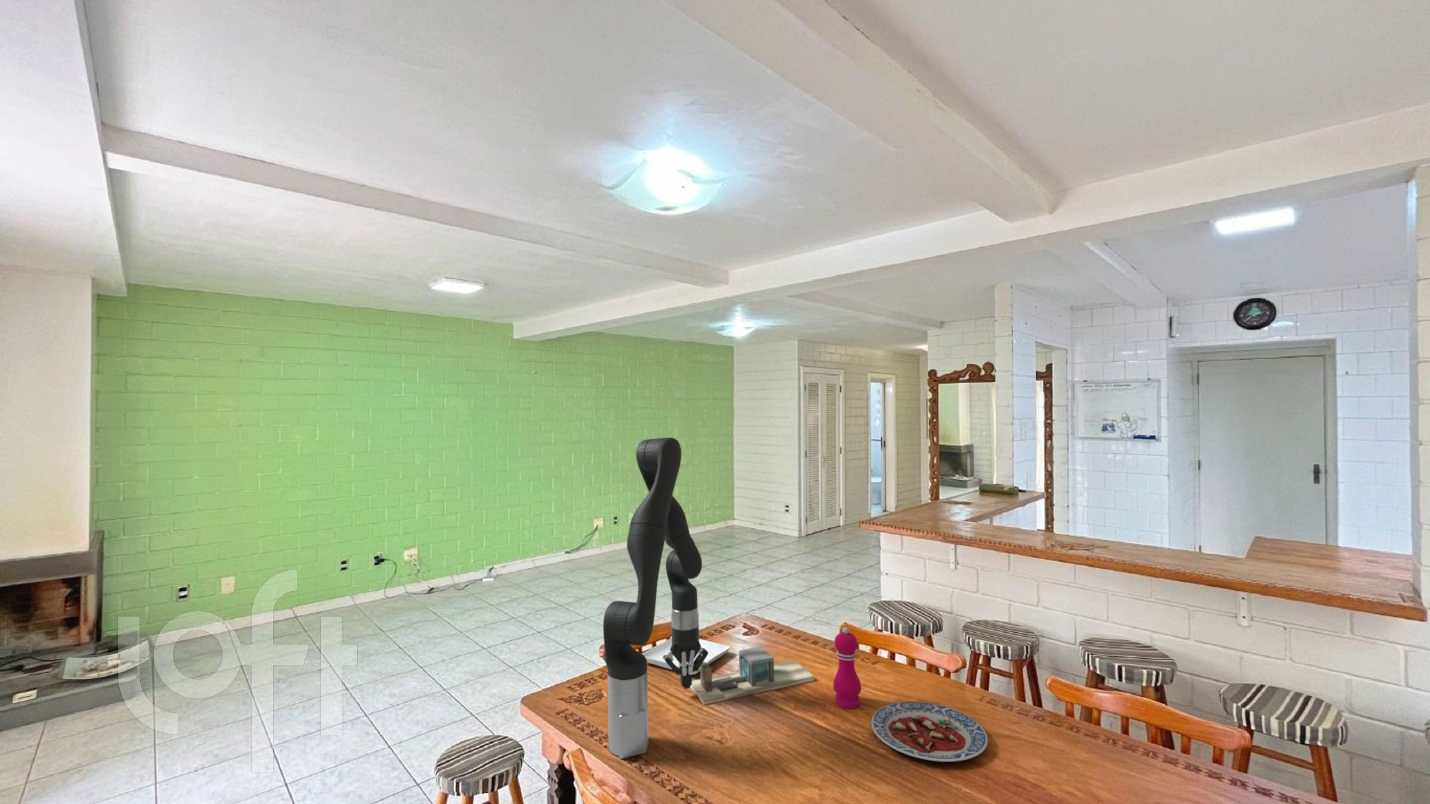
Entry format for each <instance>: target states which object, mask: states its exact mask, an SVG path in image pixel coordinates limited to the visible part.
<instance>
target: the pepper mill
mask: <svg viewBox="0 0 1430 804" xmlns="http://www.w3.org/2000/svg"><path fill="white" fill-rule="evenodd" d="M841 631H842V632H839V633H838V634H836V636H835V638H834V647H835V649H836V658H838V668H837V671H836V674H835V676H834V679H833V686H832V687H833V691H834V692H835V693H836V694H835V695H834V696H835V698H834V699H835V704H836V706H837V707H840V708H842V709H846V710H853V709H854V710H855V709H857V708H858V707H859V706H860V704H861V700H860V699H861V698H860V696H859V695H860V694H861V692H862V685H861V681H860V678H859V676H858V673H857V671H856V668H855V660H856V659H857V656H856V655H857V652H856V651H857V648H858V644H859V643H858V639H857V638H856V636H855V634H853V633H852V632H850V628H848V627H846V626H844V627H843V628H842V629H841Z"/></svg>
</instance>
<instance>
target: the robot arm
mask: <svg viewBox="0 0 1430 804" xmlns="http://www.w3.org/2000/svg"><path fill="white" fill-rule="evenodd" d="M635 457H636V463H637V467H638V469H639V472H640V474H641V477H642V478H643V482H644V484H645V485H646V486H645V487H646V488H647V491H648V494H646V496H645V498H644V499H643V500H642V501H641V503H640V504H639V506H638V507H637V508H636V510H635V511H634V513H633V515H632V517H631V520H630V523H629V528H628V535H627V541H626V549H627V553H628V555H629V559H630V561H631V564H632V566H633V568H634V571H635V575H636V578H637V587H638V588H637V598H636V601H624V600H614V601H612V602H611V603H610V604H609V605H608V606H607V607H606V610H605V612H604V616H603V621H602V622H603V623H602V624H603V625H602V628H603V629H602V630H603V646H604V647H603V648H604V661H605V666H606V669H607V714H608V716H607V720H608V721H607V722H608V723H607V725H608V750H609V752H610V753H611V754H613V755H615V756H616V757H617V756H618V757H619V759H626V758H630V757H633V756H637V755H642V754H645V753H647V750H648V747H649V705H648V703H649V702H648V701H649V699H648V697H649V695H648V692H649V691H648V690H649V688H648V662H647V659H646V657H645V656H644V655H643V653H641V652H639V651H638V650H637V649H635V648H634V647H633V646H645V645H646V644H648V642H649V640H650V638H651V635H652V632H653V628H654V624H655V615H656V603H657V593H658V584H659V583H658V582H659V574H660V568H661V562H662V558H663V557H662V556H663V551H664V547H665V544H666V546H667V547H668V546H669V547H670V548H671V549H672V550H671V551H670V552H669V553H668V555H667V557H666V561H665V573H666V577H667V580H668V584H669V587H670V591H671V617H670V618H671V620H670V625H671V638H672V646H671V648H670V652H669V653H668V654H667V655H664V656H663V659H664V660H665V661H666V663H667V664H668V665H669V666H670V667H671V668H672V669H673V670H672V671H673V672H674V673H675V674H676V675H677V676H680V685H681V686H682V688H683V689H684V690H688V689H691V688H690V686H691V685H692V681H693V674H692V673H693V672H694V671H698V670H699V668H700V666H701V665H702V663H703V661H704V660H705V658H706V657H707V655H708V651H707V650H706V649H705V648H702V647H701V645H700V643H699V639H700V625H699V624H700V620H699V619H700V617H699V614H700V613H699V610H698V608H699V607H698V590H697V587H696V586H695V585H694V584H692V583H691V582H690V580H693V579H695V578H697V577H698V576H699V575H700V574H701V572H702V567H703V561H702V556H701V554H700V551H699V549H698V547H697V546H696V543H695V541H694V539H693V537H692V536H691V533H690V530H689V525H688V521H687V517H686V514H685V512H684V509H683V507H682V506H681V505H680V503H679V501H678V500H677V499H676V498H675V497H674V495H673V494H674V490H675V486H676V482H677V479H678V474H679V471H680V467H681V460H682V447H681V445H680V442H679V440H677V439H676V438H674V437H658V438H648V439H643V440H642V441H640V442H639V444H638V445H637V446H636V450H635ZM632 645H633V646H632ZM697 654H698V656H697V657H696V655H697ZM673 655H674V657H675V658H676V659H677V660H678V662H679V668H677V667H676V665H675V664H674V663H673ZM695 657H696V659H695ZM694 659H695V660H694Z"/></svg>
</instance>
